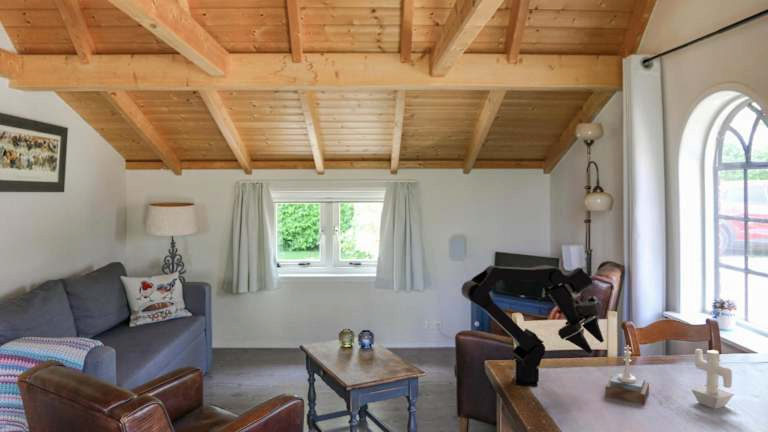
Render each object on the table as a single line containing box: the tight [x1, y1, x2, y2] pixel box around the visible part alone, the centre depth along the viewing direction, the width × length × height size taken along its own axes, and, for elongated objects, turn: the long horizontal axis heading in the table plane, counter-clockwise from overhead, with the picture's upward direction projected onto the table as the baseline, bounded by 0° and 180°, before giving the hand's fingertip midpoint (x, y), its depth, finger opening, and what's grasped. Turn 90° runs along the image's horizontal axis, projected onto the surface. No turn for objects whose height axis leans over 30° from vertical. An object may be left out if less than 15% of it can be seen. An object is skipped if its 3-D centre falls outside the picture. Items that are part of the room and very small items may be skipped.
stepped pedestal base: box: [604, 372, 650, 406], centre depth 141 cm, size 10×10×4 cm
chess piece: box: [618, 344, 637, 383], centre depth 141 cm, size 5×5×10 cm
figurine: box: [690, 348, 735, 410], centre depth 135 cm, size 7×9×15 cm
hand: (596, 347), depth 146 cm, fingers open, 9 cm apart
